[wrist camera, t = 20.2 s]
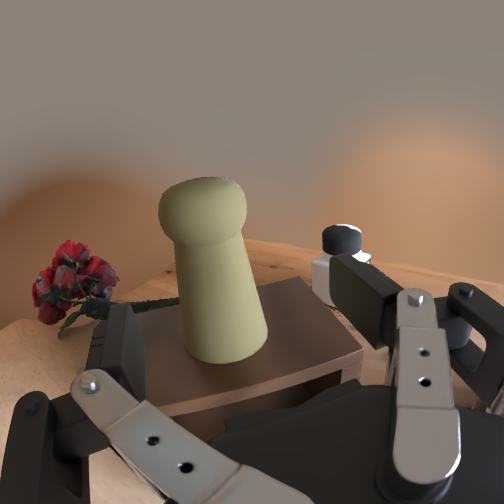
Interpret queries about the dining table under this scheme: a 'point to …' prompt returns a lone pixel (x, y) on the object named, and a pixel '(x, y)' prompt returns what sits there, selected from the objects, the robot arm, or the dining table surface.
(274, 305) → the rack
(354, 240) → the medicine bottle
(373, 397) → the robot arm
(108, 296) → the carnation
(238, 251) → the cork
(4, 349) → the dining table surface
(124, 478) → the dining table surface
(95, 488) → the dining table surface
